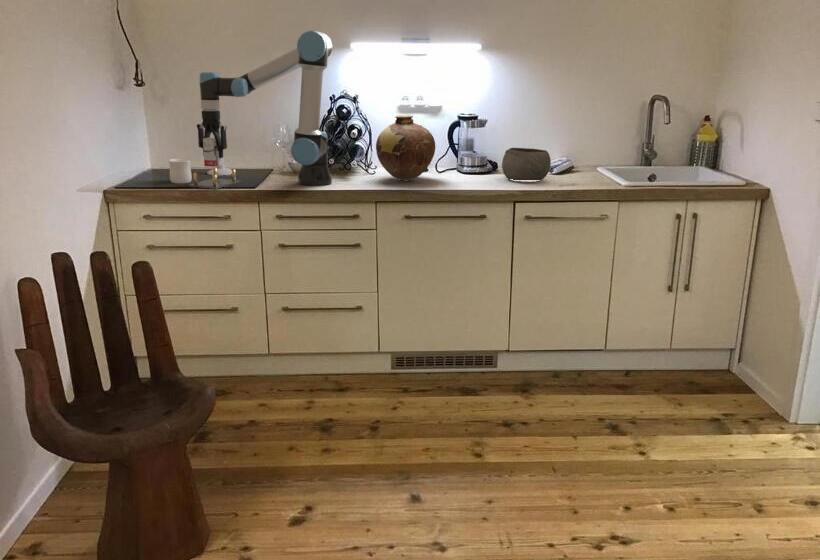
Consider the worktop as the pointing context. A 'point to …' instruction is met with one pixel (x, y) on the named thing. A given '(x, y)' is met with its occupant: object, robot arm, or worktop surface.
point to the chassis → (214, 181)
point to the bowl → (526, 164)
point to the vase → (405, 148)
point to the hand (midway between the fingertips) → (213, 164)
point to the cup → (180, 170)
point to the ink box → (210, 152)
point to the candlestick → (221, 169)
